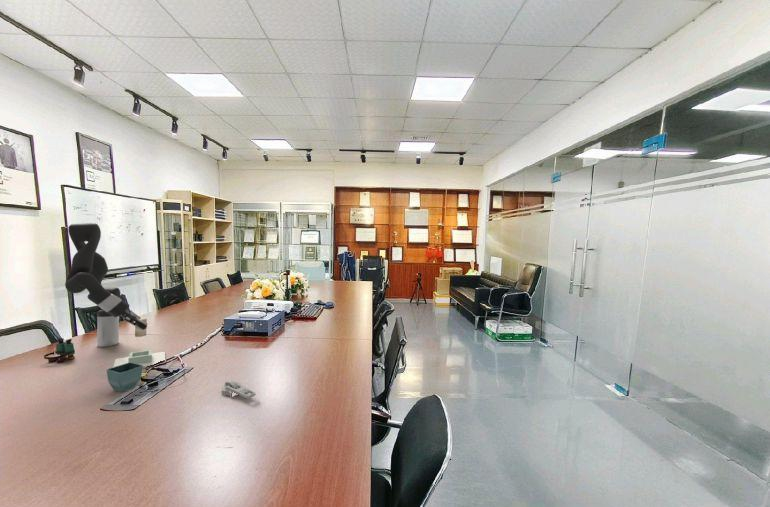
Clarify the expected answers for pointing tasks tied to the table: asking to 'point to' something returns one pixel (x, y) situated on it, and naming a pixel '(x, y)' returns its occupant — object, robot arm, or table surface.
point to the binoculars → (62, 351)
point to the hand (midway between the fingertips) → (145, 326)
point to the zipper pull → (236, 389)
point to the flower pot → (124, 376)
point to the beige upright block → (139, 331)
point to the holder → (141, 358)
